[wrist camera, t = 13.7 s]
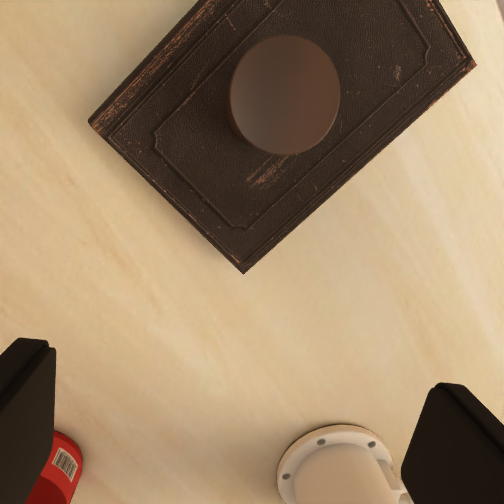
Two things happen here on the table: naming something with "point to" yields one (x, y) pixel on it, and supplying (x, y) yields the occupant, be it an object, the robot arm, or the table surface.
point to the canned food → (58, 473)
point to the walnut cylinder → (283, 95)
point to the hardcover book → (254, 160)
